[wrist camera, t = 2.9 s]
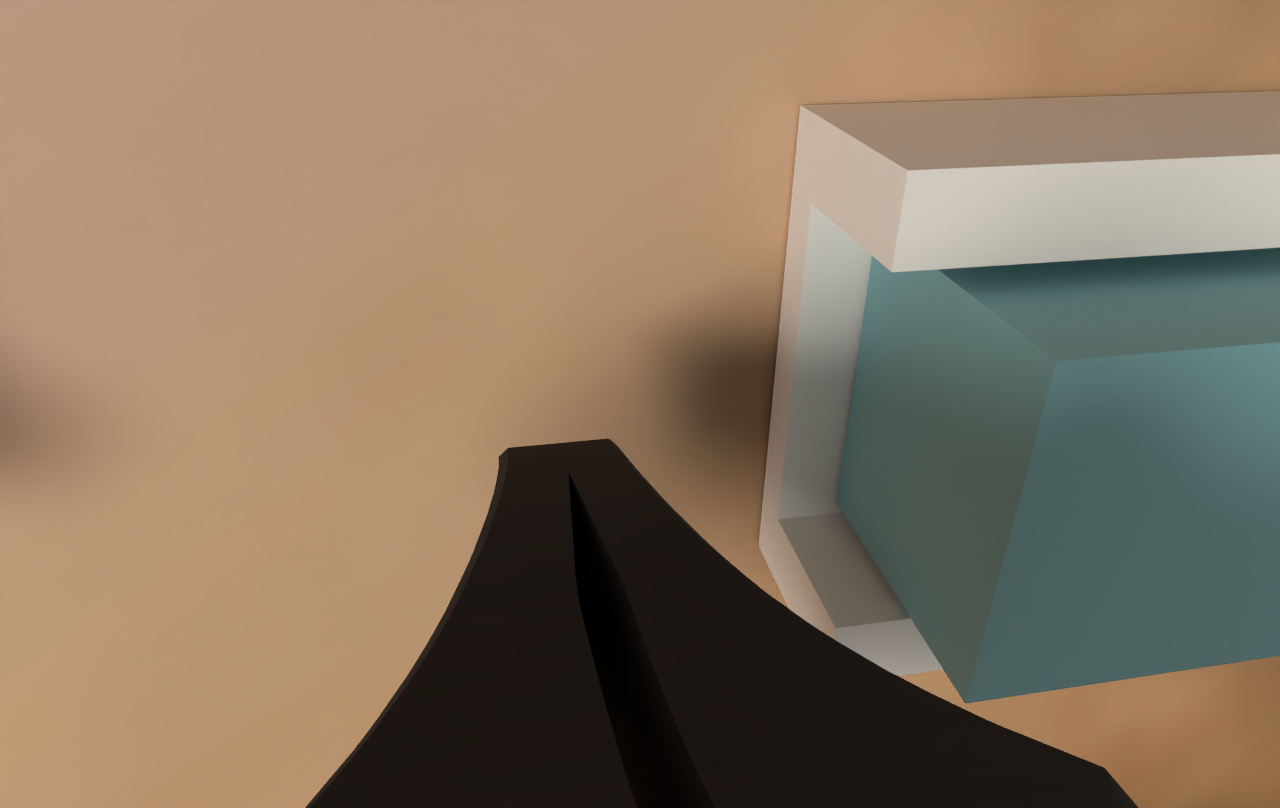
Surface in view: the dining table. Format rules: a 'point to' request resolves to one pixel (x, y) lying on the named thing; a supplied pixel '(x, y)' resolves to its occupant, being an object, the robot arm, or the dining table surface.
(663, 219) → the dining table surface
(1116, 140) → the chute
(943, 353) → the block
